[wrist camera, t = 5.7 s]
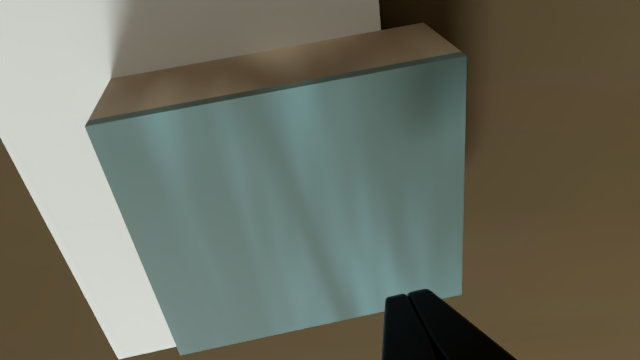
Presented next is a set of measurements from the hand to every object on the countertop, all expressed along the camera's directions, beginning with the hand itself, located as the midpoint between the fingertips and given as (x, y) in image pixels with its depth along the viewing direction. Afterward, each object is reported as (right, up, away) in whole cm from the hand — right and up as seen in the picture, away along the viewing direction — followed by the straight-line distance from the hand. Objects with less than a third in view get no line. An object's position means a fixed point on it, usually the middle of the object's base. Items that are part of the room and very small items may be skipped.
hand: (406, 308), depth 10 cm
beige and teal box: (+2, +3, +4) cm, 5 cm away
